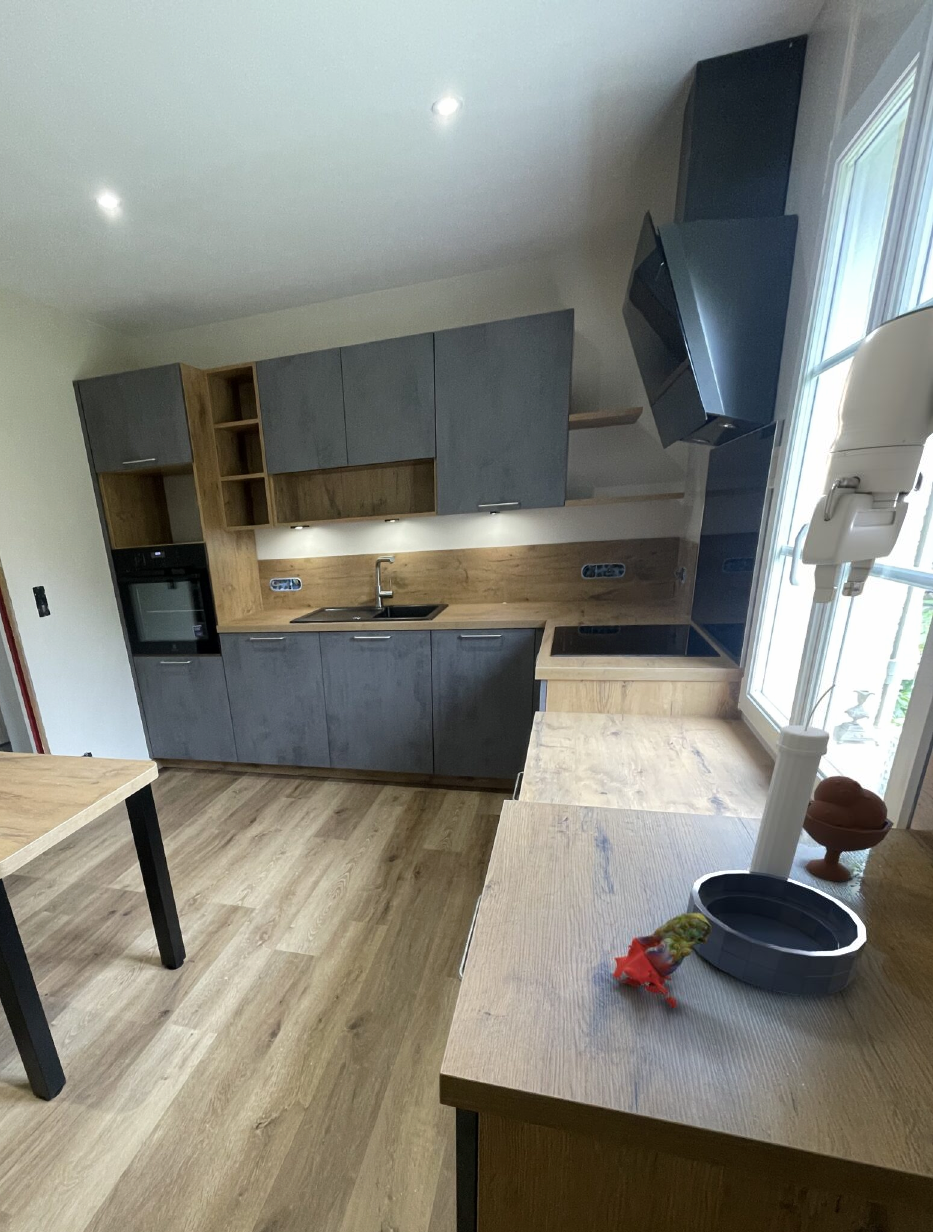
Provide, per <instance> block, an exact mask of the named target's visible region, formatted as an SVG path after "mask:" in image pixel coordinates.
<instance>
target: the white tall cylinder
mask: <svg viewBox="0 0 933 1232" xmlns="http://www.w3.org/2000/svg"><path fill="white" fill-rule="evenodd" d="M835 687H836V684H833V685H832V686H830V687H829V688H828V689H827V690H826V691H825V692H824V693H823V694H822V696H821V697H820V698H819V699H818V701H817V702H816V704H815V705H814V707H813V709H812V710H811V713H810V715H809V717H808V719H807V722H806V724H805V725H799V724H796V725H795V724H794V725H793V724H791V725H785V726H783V727H781V729H780V730H779V731H780V732H779V737H778V740H776V743H775V748H776V749H777V750H778V751H777V755H776V758H775V763H774V767H773V770H772V775H771V779H770V783H769V784H770V785H769V788H768V792H767V797H766V800H765V804H764V807H763V813H762V817H761V820H760V821H761V822H760V825H759V829H758V833H757V837H756V841H755V846H754V849H753V854H752V858H751V862H750V865H749V866H747V867H746V868H745V871H752V872H760V873H766V874H767V873H768V874H772V875H776V876H780V877H784V878H788V879H792V878H791V876H790V874H791V871H792V867H793V863H794V859H795V857H796V856H795V855H796V853H797V850H798V845H799V841H800V837H801V834H802V830H803V823H804V819H805V815H806V812H807V808H808V804H809V801H811V796H812V793H813V791H814V790H813V789H814V785H815V782H816V778H817V774H818V772H819V771H818V770H819V767H820V763H821V760H822V756H825V755H827V752H828V744H829V740H830V733H829V732H827V731H826V730H823V729H822V728H818V727H813V726H809V724H810V721H811V718H812V716H813V715H814V712H815V710H816V709H817V707H818V706H819V704H820V703H821V702H822V700H823V699H824V697H825V696H826V695H827V694H828V693H829V692H830V691H831V690H832V689H834V688H835Z"/></svg>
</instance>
